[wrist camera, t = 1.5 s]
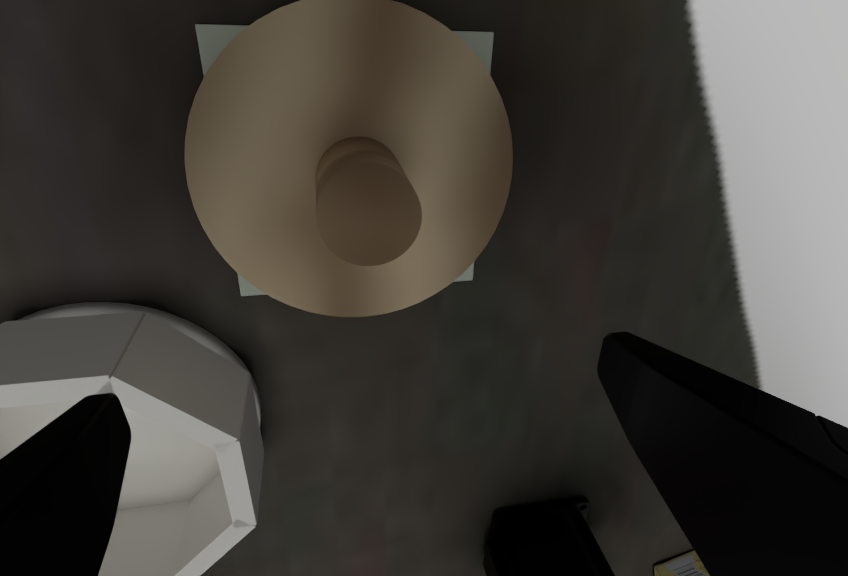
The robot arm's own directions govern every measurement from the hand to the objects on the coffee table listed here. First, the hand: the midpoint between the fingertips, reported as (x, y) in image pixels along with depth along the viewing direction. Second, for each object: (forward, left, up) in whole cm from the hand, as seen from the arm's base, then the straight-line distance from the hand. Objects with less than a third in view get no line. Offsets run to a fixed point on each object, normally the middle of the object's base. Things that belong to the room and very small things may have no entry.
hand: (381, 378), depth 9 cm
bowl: (+10, +11, -12) cm, 19 cm away
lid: (-1, 0, -12) cm, 12 cm away
